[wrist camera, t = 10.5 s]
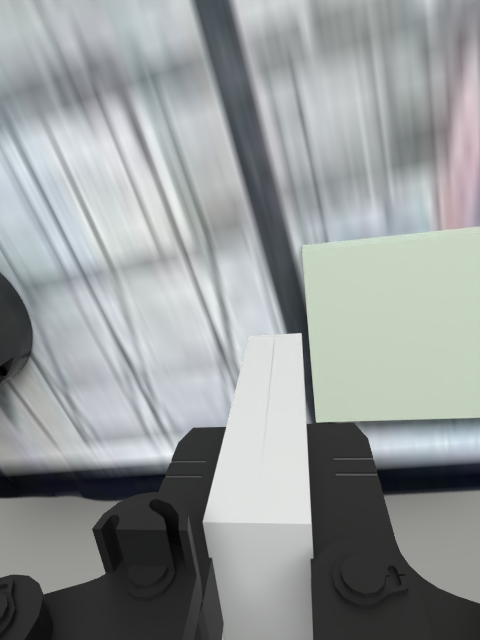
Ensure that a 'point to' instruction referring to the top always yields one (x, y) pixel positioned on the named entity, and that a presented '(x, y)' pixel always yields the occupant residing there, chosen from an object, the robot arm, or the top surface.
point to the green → (395, 326)
